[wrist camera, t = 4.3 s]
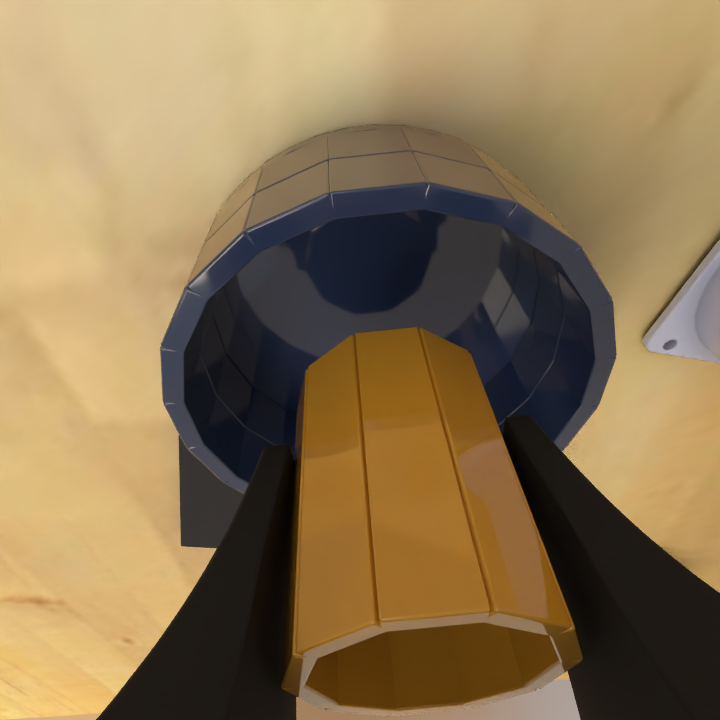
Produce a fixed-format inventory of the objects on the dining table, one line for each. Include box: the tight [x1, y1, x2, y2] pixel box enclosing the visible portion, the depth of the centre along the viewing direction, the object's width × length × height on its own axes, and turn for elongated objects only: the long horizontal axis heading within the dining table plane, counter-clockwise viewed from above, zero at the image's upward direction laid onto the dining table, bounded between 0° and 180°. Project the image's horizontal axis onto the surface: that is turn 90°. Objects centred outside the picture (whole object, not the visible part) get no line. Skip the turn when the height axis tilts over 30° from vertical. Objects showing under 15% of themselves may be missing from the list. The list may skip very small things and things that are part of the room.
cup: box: [280, 327, 584, 716], centre depth 11 cm, size 5×6×7 cm
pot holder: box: [179, 435, 244, 548], centre depth 25 cm, size 14×10×1 cm
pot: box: [160, 125, 616, 494], centre depth 15 cm, size 13×13×5 cm
